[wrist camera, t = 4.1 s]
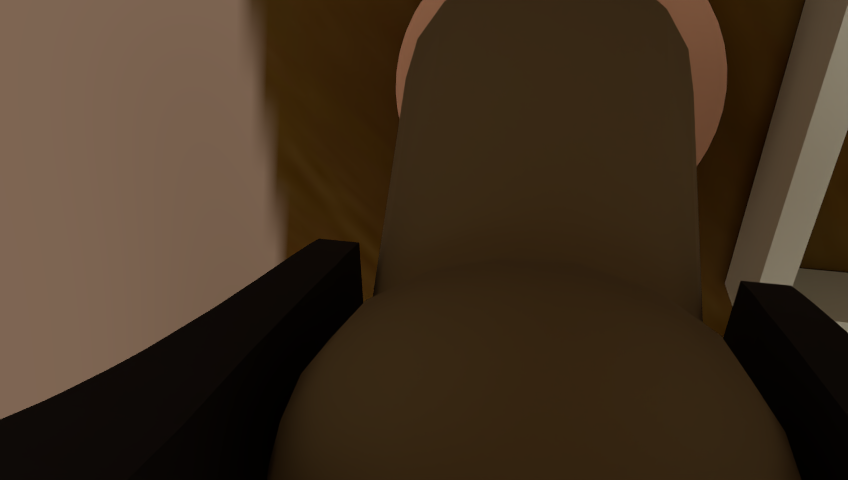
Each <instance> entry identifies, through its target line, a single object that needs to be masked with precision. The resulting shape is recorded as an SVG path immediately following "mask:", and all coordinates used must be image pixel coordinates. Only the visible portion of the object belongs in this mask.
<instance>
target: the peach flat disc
mask: <svg viewBox="0 0 848 480" xmlns="http://www.w3.org/2000/svg"><path fill="white" fill-rule="evenodd" d="M445 1H446V0H422V2H421V3H420V5H419V6H418V8H417V9H416V11H415V13H414V15H413V17H412V19H411V22H410V24H409V26H408V28H407V30H406V33H405V36H404V40H403V43H402V46H401V49H400V54H399V60H398V66H397V73H396V98H397V109H398V114H399V118H400V113H401V106H402V100H403V93H404V86H405V80H406V76H407V72H408V69H409V66H410V62H411V59H412V56H413V52H414V49H415V46H416V42H417V39H418V37H419V36H420V35H421V33H422V32H423V30H424V29H425V28H426V26H427V25H428V23H429V22H430V21H431V19H432V18H433V16H434V15H435V14H436V12H437V11H438V10H439V8H440V7H441V5H442V4H443V3H444V2H445ZM657 1H658V2H660V3H661V4H662V5H663V6H664V7H665V8H667V10H668V12H669V14H670V15H671V17H672V19H673V21H674V23H675V25H676V27H677V29H678V30H679V32H680V34H681V36H682V38H683V40H684V42H685V43H686V45H687V47H688V49H689V58H690V66H691V75H692V83H693V91H694V115H695V140H696V166H697V165H698V164H699V162H700V161H701V159H702V158H703V156H704V155H705V153H706V151H707V150H708V148H709V146H710V143H711V141H712V139H713V137H714V135H715V133H716V131H717V128H718V124H719V121H720V118H721V115H722V112H723V107H724V102H725V96H726V90H727V60H726V52H725V44H724V41H723V37H722V34H721V30H720V26H719V23H718V21H717V18H716V16H715V14H714V12H713V10H712V7H711V5H710V3H709V1H708V0H657Z"/></svg>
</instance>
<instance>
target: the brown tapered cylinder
mask: <svg viewBox="0 0 848 480" xmlns="http://www.w3.org/2000/svg"><path fill="white" fill-rule="evenodd" d="M267 480H802V479H801V476H800V473H799V470H798V468H797V465H796V462H795V459H794V456H793V453H792V450H791V447H790V444H789V441H788V438H787V435H786V432H785V431H784V429H783V428H782V426H781V425H780V423H779V422H778V420H777V418H776V417H775V415H774V414H773V412H772V411H771V409H770V408H769V406H768V405H767V403H766V402H765V400H764V399H763V397H762V396H761V394H760V392H759V391H758V389H757V388H756V386H755V385H754V383H753V382H752V380H751V379H750V377H749V376H748V374H747V373H746V371H745V370H744V368H743V367H742V366H741V364H740V363H739V361H738V360H737V358H736V357H735V355H734V354H733V352H732V351H731V350H730V348H729V347H728V345H727V344H726V342H725V341H724V339H723V338H722V336H721V335H719V334H718V333H716V332H715V331H714V330H712V329H711V328H709V327H708V326H707V325H705V324H704V323H703V319H702V294H701V268H700V242H699V217H698V191H697V166H696V140H695V115H694V91H693V83H692V75H691V66H690V58H689V49H688V47H687V45H686V43H685V42H684V40H683V38H682V36H681V34H680V32H679V30H678V29H677V27H676V25H675V23H674V21H673V19H672V17H671V15H670V14H669V12H668V10H667V8H665V7H664V6H663V5H662V4H661V3H660V2H658V1H657V0H446V1H445V2H444V3H443V4H442V5H441V7H440V8H439V10H438V11H437V12H436V14H435V15H434V16H433V18H432V19H431V21H430V22H429V23H428V25H427V26H426V28H425V29H424V30H423V32H422V33H421V35H420V36H419V37H418V39H417V42H416V46H415V49H414V52H413V56H412V59H411V62H410V66H409V69H408V72H407V76H406V80H405V86H404V93H403V100H402V106H401V113H400V120H399V126H398V133H397V140H396V146H395V153H394V160H393V166H392V173H391V180H390V186H389V193H388V200H387V206H386V213H385V220H384V226H383V233H382V240H381V246H380V253H379V260H378V266H377V273H376V280H375V286H374V293H373V297H372V298H370V299H368V300H366V301H365V302H364V303H363V304H362V305H361V306H360V307H359V308H358V309H357V310H356V311H355V313H354V314H353V315H352V316H351V317H350V318H349V319H348V320H347V321H346V322H345V323H344V324H343V325H342V326H341V327H340V328H339V330H338V331H337V332H336V333H335V334H334V335H333V336H332V337H331V338H330V339H329V340H328V342H327V343H326V344H325V345H324V347H323V348H322V349H321V350H320V351H319V353H318V354H317V355H316V356H315V357H314V359H313V360H312V361H311V362H310V363H309V365H308V366H307V367H306V368H305V370H304V371H303V372H302V373H301V375H300V377H299V379H298V381H297V384H296V386H295V388H294V390H293V393H292V395H291V397H290V400H289V402H288V404H287V406H286V409H285V411H284V413H283V416H282V418H281V420H280V423H279V427H278V431H277V435H276V439H275V443H274V446H273V450H272V454H271V458H270V462H269V466H268V473H267Z"/></svg>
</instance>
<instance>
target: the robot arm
mask: <svg viewBox="0 0 848 480" xmlns="http://www.w3.org/2000/svg"><path fill="white" fill-rule="evenodd" d="M362 304H363V293H362V278H361V264H360V249H359V243H356V242H346V241H336V240H326V239H318V240H316V241H314V242H312V243H311V244H309V245H307V246H306V247H304V248H303V249H301V250H300V251H298V252H297V253H295V254H294V255H292V256H291V257H289V258H288V259H286V260H285V261H283V262H282V263H280V264H279V265H277V266H276V267H274V268H273V269H272V270H270V271H269V272H267V273H266V274H264V275H263V276H261V277H260V278H258V279H257V280H256V281H254V282H252V283H251V284H249V285H248V286H246V287H245V288H243V289H242V290H240V291H239V292H237V293H236V294H234V295H233V296H231V297H230V298H228V299H227V300H225V301H224V302H222V303H221V304H219V305H218V306H216V307H215V308H213V309H211V310H210V311H208V312H206V313H205V314H203V315H201V316H200V317H198V318H196V319H195V320H193V321H192V322H190V323H188V324H187V325H185V326H184V327H182V328H180V329H178V330H177V331H175V332H173V333H172V334H170V335H168V336H167V337H165V338H164V339H162V340H160V341H159V342H157V343H155V344H153V345H152V346H150V347H148V348H147V349H145V350H143V351H141V352H139V353H138V354H136V355H134V356H132V357H130V358H129V359H127V360H125V361H123V362H121V363H119V364H117V365H116V366H114V367H112V368H110V369H108V370H106V371H104V372H102V373H100V374H98V375H96V376H94V377H92V378H90V379H88V380H86V381H84V382H82V383H80V384H78V385H76V386H74V387H72V388H70V389H68V390H66V391H64V392H62V393H60V394H58V395H55V396H53V397H51V398H49V399H47V400H45V401H43V402H40V403H38V404H36V405H33V406H31V407H29V408H26V409H24V410H22V411H19V412H17V413H15V414H13V415H10V416H8V417H5V418H3V419H0V480H267V473H268V466H269V462H270V458H271V454H272V450H273V446H274V443H275V439H276V435H277V431H278V427H279V423H280V420H281V418H282V416H283V413H284V411H285V409H286V406H287V404H288V402H289V400H290V397H291V395H292V393H293V390H294V388H295V386H296V384H297V381H298V379H299V377H300V375H301V373H302V372H303V371H304V370H305V368H306V367H307V366H308V365H309V363H310V362H311V361H312V360H313V359H314V357H315V356H316V355H317V354H318V353H319V351H320V350H321V349H322V348H323V347H324V345H325V344H326V343H327V342H328V340H329V339H330V338H331V337H332V336H333V335H334V334H335V333H336V332H337V331H338V330H339V328H340V327H341V326H342V325H343V324H344V323H345V322H346V321H347V320H348V319H349V318H350V317H351V316H352V315H353V314H354V313H355V311H356V310H357V309H358V308H359V307H360V306H361V305H362ZM723 339H724V341H725V342H726V344H727V345H728V347H729V348H730V350H731V351H732V352H733V354H734V355H735V357H736V358H737V360H738V361H739V363H740V364H741V366H742V367H743V368H744V370H745V371H746V373H747V374H748V376H749V377H750V379H751V380H752V382H753V383H754V385H755V386H756V388H757V389H758V391H759V392H760V394H761V396H762V397H763V399H764V400H765V402H766V403H767V405H768V406H769V408H770V409H771V411H772V412H773V414H774V415H775V417H776V418H777V420H778V422H779V423H780V425H781V426H782V428H783V429H784V431H785V432H786V435H787V438H788V441H789V444H790V447H791V450H792V453H793V456H794V459H795V462H796V465H797V468H798V470H799V473H800V476H801V479H802V480H848V332H847V331H845V330H844V329H843V328H842V327H841V326H840V325H839V324H837V323H836V322H835V321H834V320H833V319H832V318H830V317H829V316H828V315H827V314H826V313H825V312H823V311H822V310H821V309H820V308H819V307H818V306H816V305H815V304H814V303H813V302H812V301H810V300H809V299H808V298H807V297H805V296H804V295H803V294H802V293H800V292H799V291H798V290H796V289H795V288H794V287H792V286H790V285H780V284H770V283H760V282H750V281H740V284H739V288H738V291H737V294H736V298H735V301H734V304H733V308H732V311H731V314H730V318H729V321H728V324H727V328H726V331H725V334H724V338H723Z"/></svg>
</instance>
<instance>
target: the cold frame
mask: <svg viewBox="0 0 848 480" xmlns="http://www.w3.org/2000/svg"><path fill="white" fill-rule="evenodd" d="M847 130H848V0H805V4H804V7H803V11H802V14H801V18H800V21H799V25H798V28H797V32H796V35H795V39H794V42H793V46H792V49H791V53H790V56H789V60H788V63H787V67H786V70H785V74H784V77H783V81H782V84H781V88H780V91H779V95H778V98H777V102H776V105H775V109H774V112H773V116H772V119H771V123H770V126H769V130H768V133H767V137H766V140H765V144H764V147H763V151H762V155H761V158H760V162H759V165H758V169H757V172H756V176H755V179H754V183H753V186H752V190H751V193H750V197H749V200H748V204H747V207H746V211H745V214H744V218H743V221H742V225H741V228H740V232H739V235H738V239H737V242H736V246H735V249H734V253H733V256H732V260H731V263H730V267H729V270H728V274H727V277H726V281H725V286H726V289H727V292H728V295H729V298H730V301H731V304H732V306H733V304H734V301H735V298H736V294H737V291H738V288H739V284H740V281H750V282H760V283H770V284H780V285H790V286H792V287H794V288H795V289H796V290H798V291H799V292H800V293H802V294H803V295H804V296H805V297H807V298H808V299H809V300H810V301H812V302H813V303H814V304H815V305H816V306H818V307H819V308H820V309H821V310H822V311H823V312H825V313H826V314H827V315H828V316H829V317H830V318H832V319H833V320H834V321H835V322H836V323H837V324H839V325H840V326H841V327H842V328H843V329H844V330H845V331H847V332H848V273H845V272H834V271H824V270H813V269H803V268H799V266H800V263H801V261H802V258H803V255H804V252H805V249H806V246H807V244H808V241H809V238H810V235H811V232H812V229H813V226H814V224H815V221H816V218H817V215H818V212H819V209H820V207H821V204H822V201H823V198H824V195H825V192H826V190H827V187H828V184H829V181H830V178H831V175H832V173H833V170H834V167H835V164H836V161H837V158H838V155H839V153H840V150H841V147H842V144H843V141H844V138H845V136H846V133H847Z"/></svg>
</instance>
